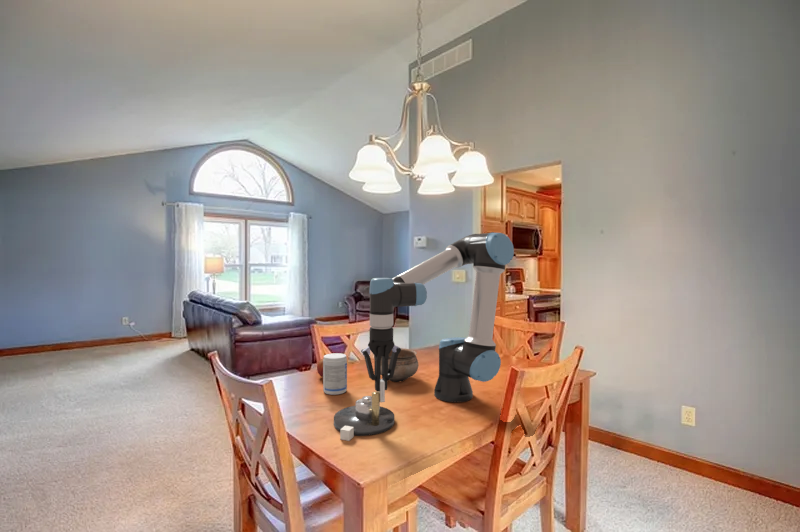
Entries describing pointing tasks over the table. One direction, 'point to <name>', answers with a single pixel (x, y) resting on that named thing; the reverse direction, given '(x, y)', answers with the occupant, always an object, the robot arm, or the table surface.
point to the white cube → (347, 433)
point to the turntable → (361, 426)
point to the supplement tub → (334, 373)
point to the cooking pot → (404, 365)
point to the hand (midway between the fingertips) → (381, 400)
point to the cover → (365, 408)
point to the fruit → (320, 367)
